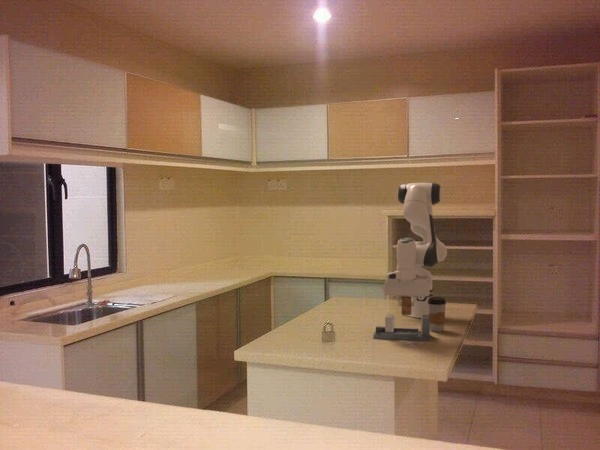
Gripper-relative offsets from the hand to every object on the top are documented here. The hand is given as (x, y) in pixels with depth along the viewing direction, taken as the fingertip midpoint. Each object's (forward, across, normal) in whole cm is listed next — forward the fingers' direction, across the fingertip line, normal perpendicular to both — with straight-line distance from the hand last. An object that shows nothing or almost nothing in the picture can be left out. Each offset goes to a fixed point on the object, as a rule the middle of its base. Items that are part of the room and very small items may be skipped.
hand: (406, 305), depth 257 cm
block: (+4, 0, 0) cm, 4 cm away
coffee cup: (+14, -13, -16) cm, 25 cm away
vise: (+14, +2, 0) cm, 14 cm away
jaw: (+12, +9, 0) cm, 15 cm away
